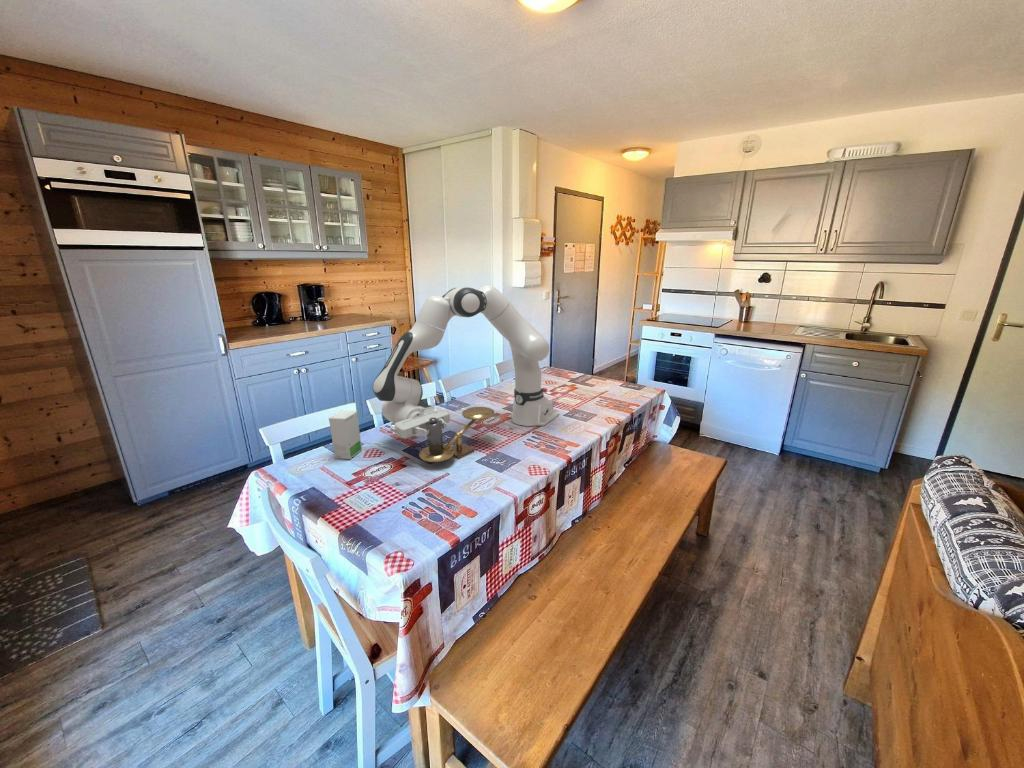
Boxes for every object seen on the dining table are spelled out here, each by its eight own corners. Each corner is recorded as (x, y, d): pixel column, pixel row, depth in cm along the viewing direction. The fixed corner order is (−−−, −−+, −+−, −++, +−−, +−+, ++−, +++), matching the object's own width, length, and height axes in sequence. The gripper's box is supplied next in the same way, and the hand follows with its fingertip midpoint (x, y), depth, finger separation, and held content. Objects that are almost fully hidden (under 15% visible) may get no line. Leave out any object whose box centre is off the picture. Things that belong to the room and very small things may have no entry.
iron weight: (438, 447, 145) (434, 414, 141) (446, 451, 142) (443, 418, 137) (426, 452, 141) (422, 419, 137) (435, 457, 138) (431, 423, 134)
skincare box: (350, 460, 144) (344, 419, 139) (333, 458, 145) (327, 417, 141) (362, 449, 152) (357, 410, 147) (346, 448, 153) (341, 409, 149)
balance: (480, 433, 165) (479, 404, 161) (501, 442, 157) (500, 411, 153) (412, 462, 142) (409, 429, 138) (434, 474, 134) (431, 439, 131)
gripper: (386, 419, 139) (409, 430, 130) (435, 403, 153) (459, 412, 144) (388, 436, 141) (411, 448, 132) (436, 419, 155) (459, 428, 146)
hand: (436, 429), depth 138 cm, fingers open, 6 cm apart
